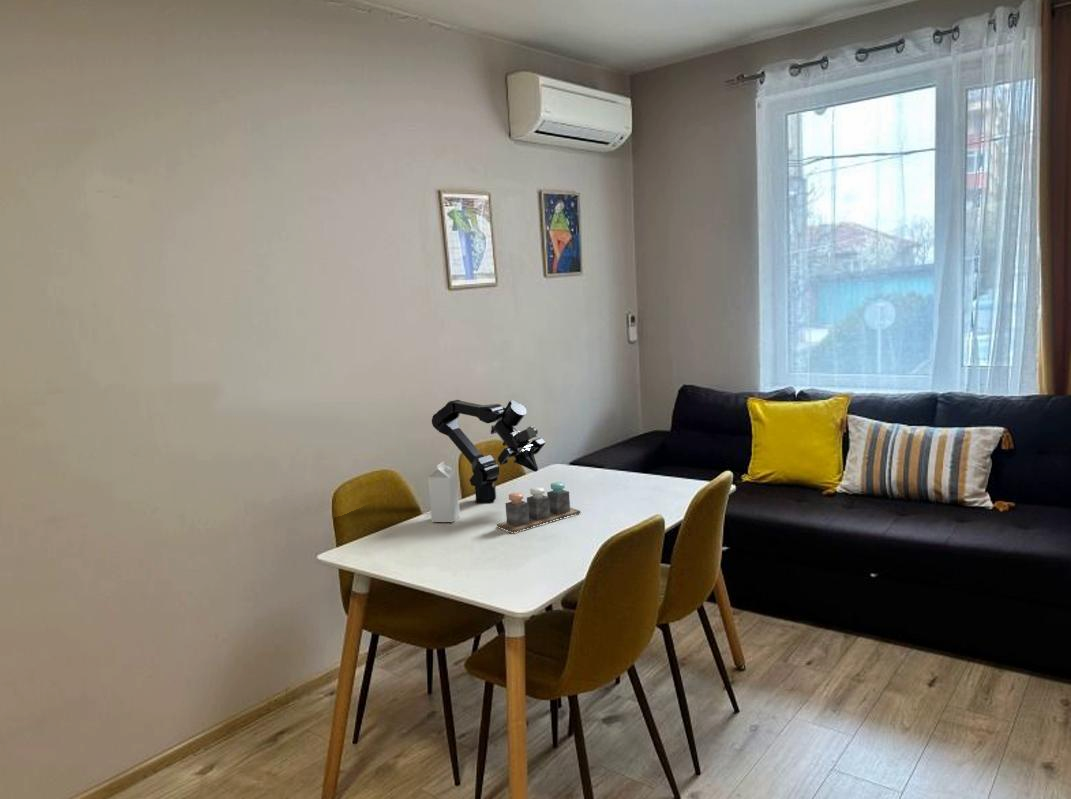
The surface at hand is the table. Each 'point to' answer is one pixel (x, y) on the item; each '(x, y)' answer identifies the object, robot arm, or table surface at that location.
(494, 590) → the table surface
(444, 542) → the table surface
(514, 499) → the peach ball
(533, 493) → the white button
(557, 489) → the teal button
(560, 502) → the button stand
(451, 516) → the milk carton
